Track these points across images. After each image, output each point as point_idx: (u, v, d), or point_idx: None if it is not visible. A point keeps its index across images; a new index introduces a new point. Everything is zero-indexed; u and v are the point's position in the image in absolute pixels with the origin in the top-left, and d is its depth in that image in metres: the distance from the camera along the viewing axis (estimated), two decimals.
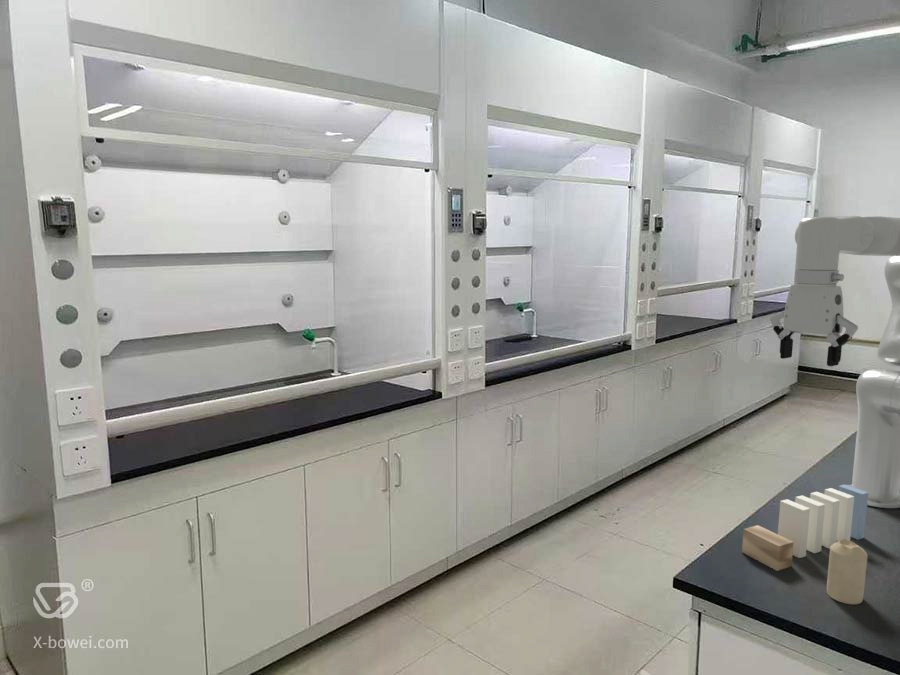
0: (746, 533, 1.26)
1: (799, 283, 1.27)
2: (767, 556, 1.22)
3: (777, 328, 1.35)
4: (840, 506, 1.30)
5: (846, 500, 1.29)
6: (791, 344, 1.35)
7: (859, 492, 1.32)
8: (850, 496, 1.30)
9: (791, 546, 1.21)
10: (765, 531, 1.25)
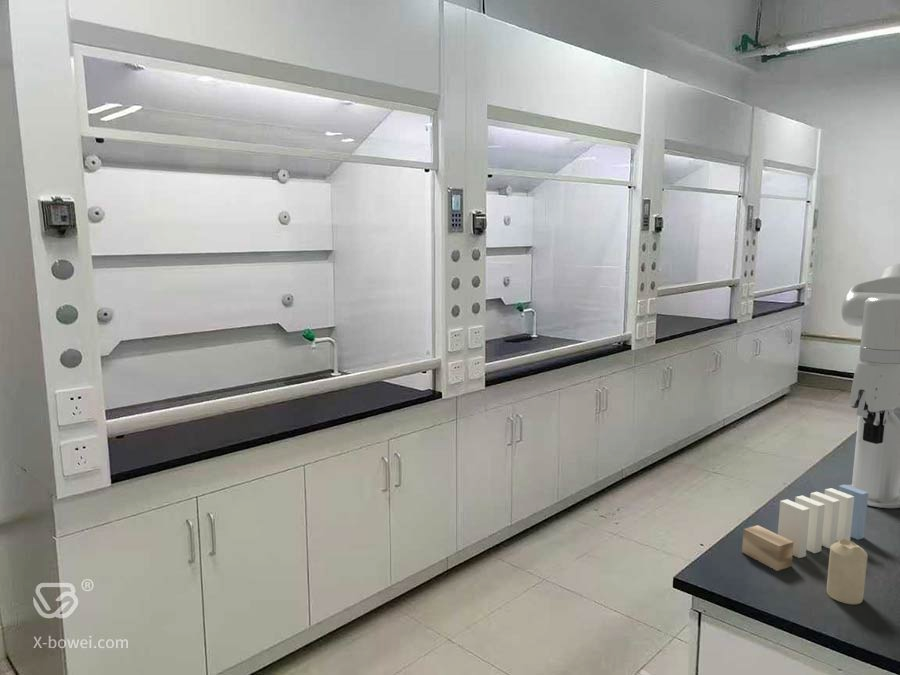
0: (746, 533, 1.26)
1: (895, 363, 1.27)
2: (767, 556, 1.22)
3: (872, 415, 1.31)
4: (840, 506, 1.30)
5: (846, 500, 1.29)
6: None
7: (859, 492, 1.32)
8: (850, 496, 1.29)
9: (791, 546, 1.21)
10: (765, 531, 1.25)
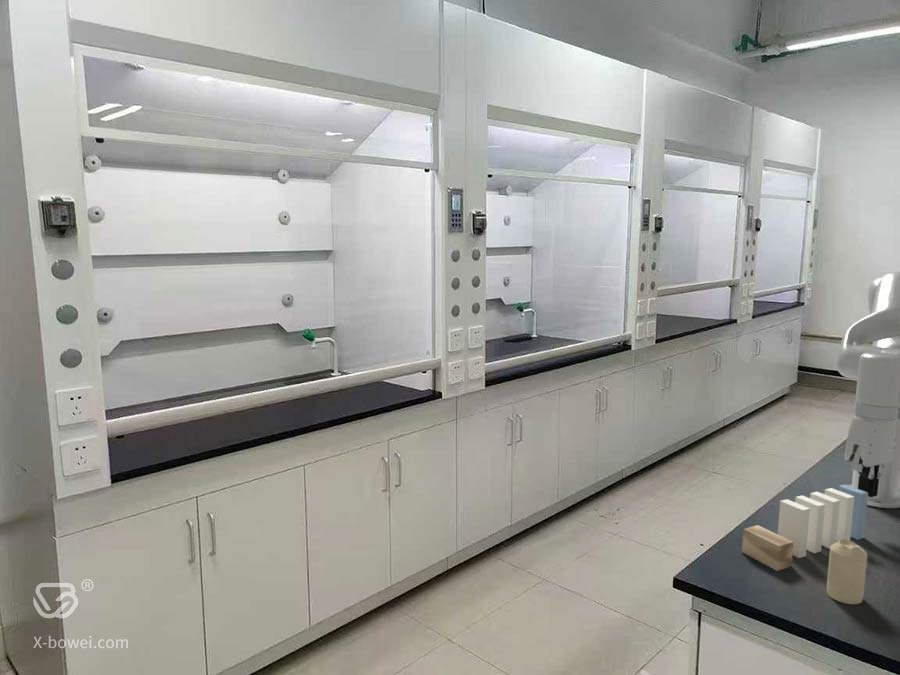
0: (746, 533, 1.26)
1: (889, 420, 1.29)
2: (767, 556, 1.22)
3: (867, 469, 1.33)
4: (840, 506, 1.30)
5: (846, 500, 1.29)
6: None
7: (859, 492, 1.32)
8: (850, 496, 1.30)
9: (791, 546, 1.21)
10: (765, 531, 1.25)
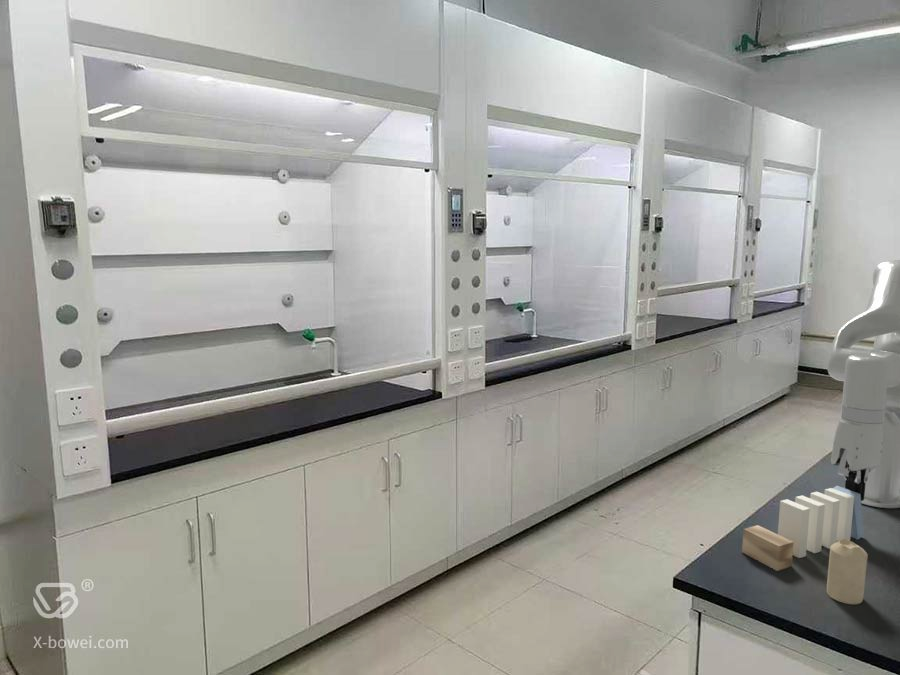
0: (746, 533, 1.26)
1: (875, 423, 1.27)
2: (767, 556, 1.22)
3: (853, 473, 1.31)
4: (840, 506, 1.30)
5: (846, 500, 1.29)
6: None
7: (851, 494, 1.31)
8: (850, 496, 1.29)
9: (791, 546, 1.21)
10: (765, 531, 1.25)
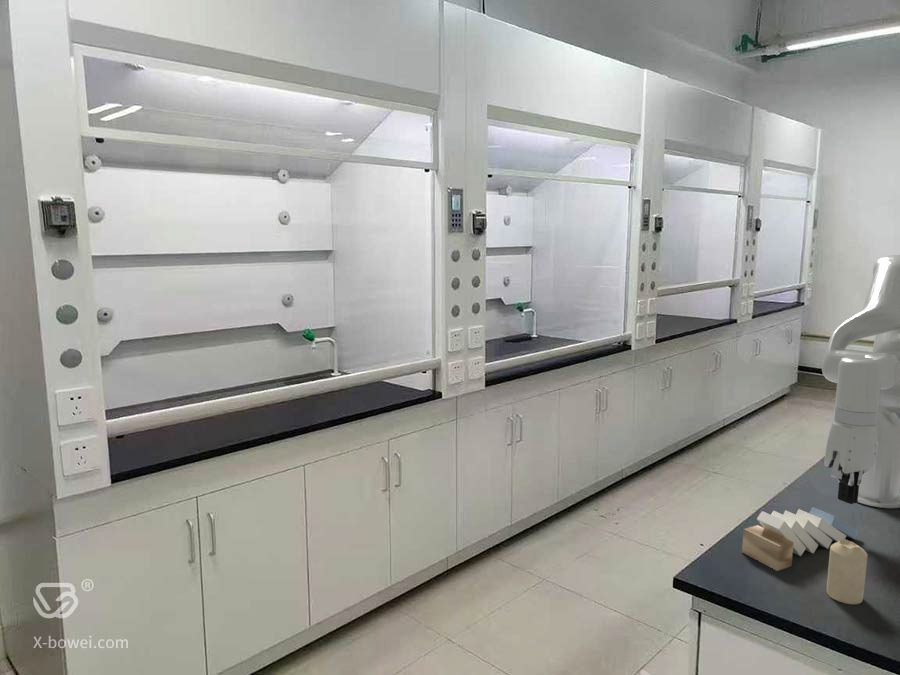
0: (746, 533, 1.26)
1: (868, 426, 1.27)
2: (767, 556, 1.22)
3: (846, 476, 1.30)
4: None
5: None
6: None
7: (828, 519, 1.28)
8: (818, 521, 1.26)
9: (791, 546, 1.21)
10: (765, 531, 1.25)
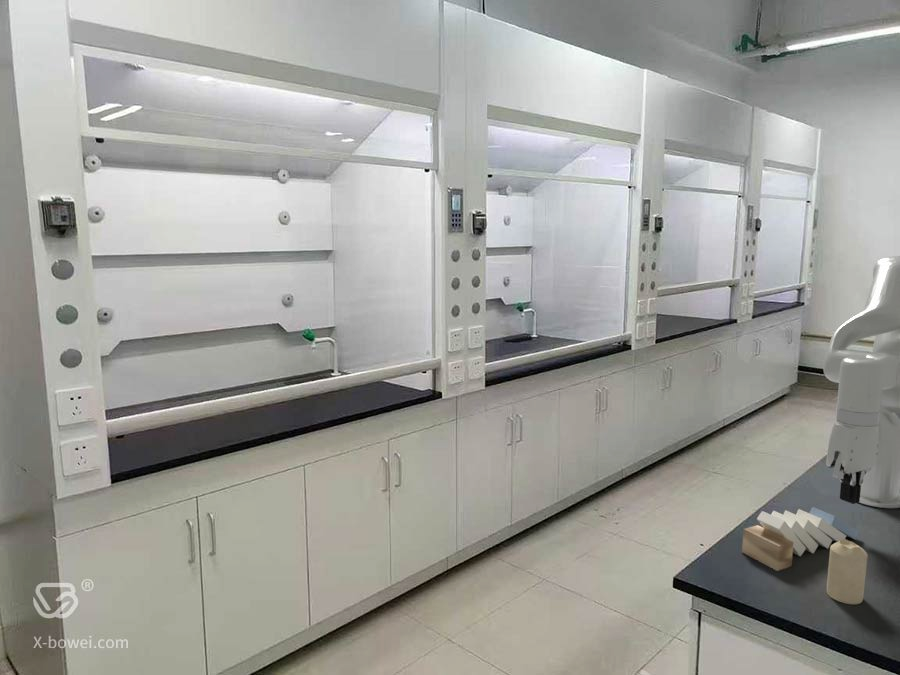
0: (746, 533, 1.26)
1: (870, 426, 1.27)
2: (767, 556, 1.22)
3: (848, 476, 1.31)
4: None
5: None
6: None
7: (828, 519, 1.28)
8: (818, 521, 1.26)
9: (791, 546, 1.21)
10: (765, 531, 1.25)
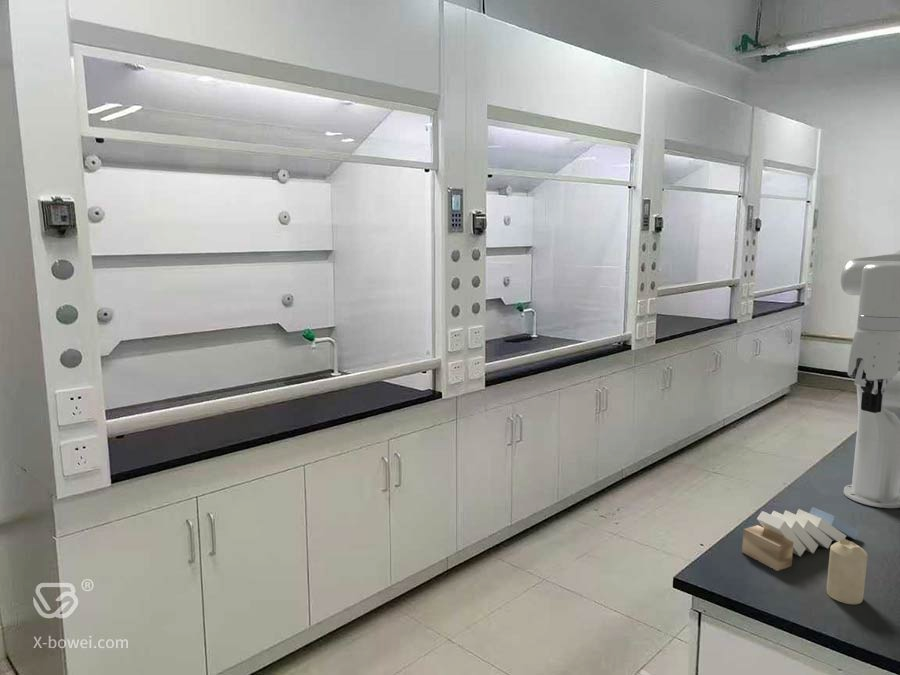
0: (746, 533, 1.26)
1: (893, 331, 1.26)
2: (767, 556, 1.22)
3: (870, 384, 1.29)
4: None
5: None
6: None
7: (828, 519, 1.28)
8: (818, 521, 1.26)
9: (791, 546, 1.21)
10: (765, 531, 1.25)
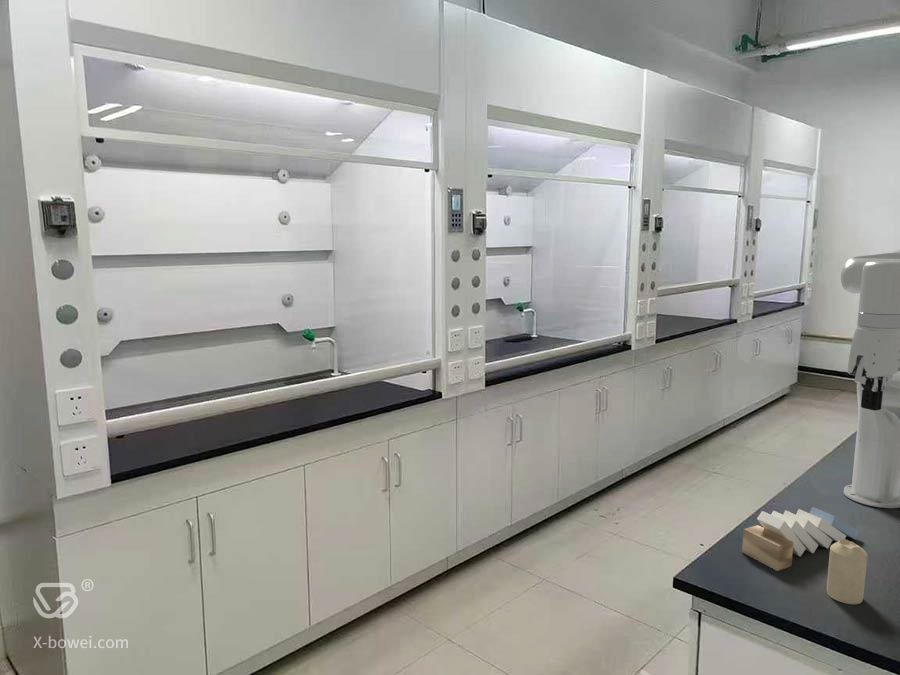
0: (746, 533, 1.26)
1: (893, 328, 1.26)
2: (767, 556, 1.22)
3: (870, 381, 1.29)
4: None
5: None
6: None
7: (828, 519, 1.28)
8: (818, 521, 1.26)
9: (791, 546, 1.21)
10: (765, 531, 1.25)
